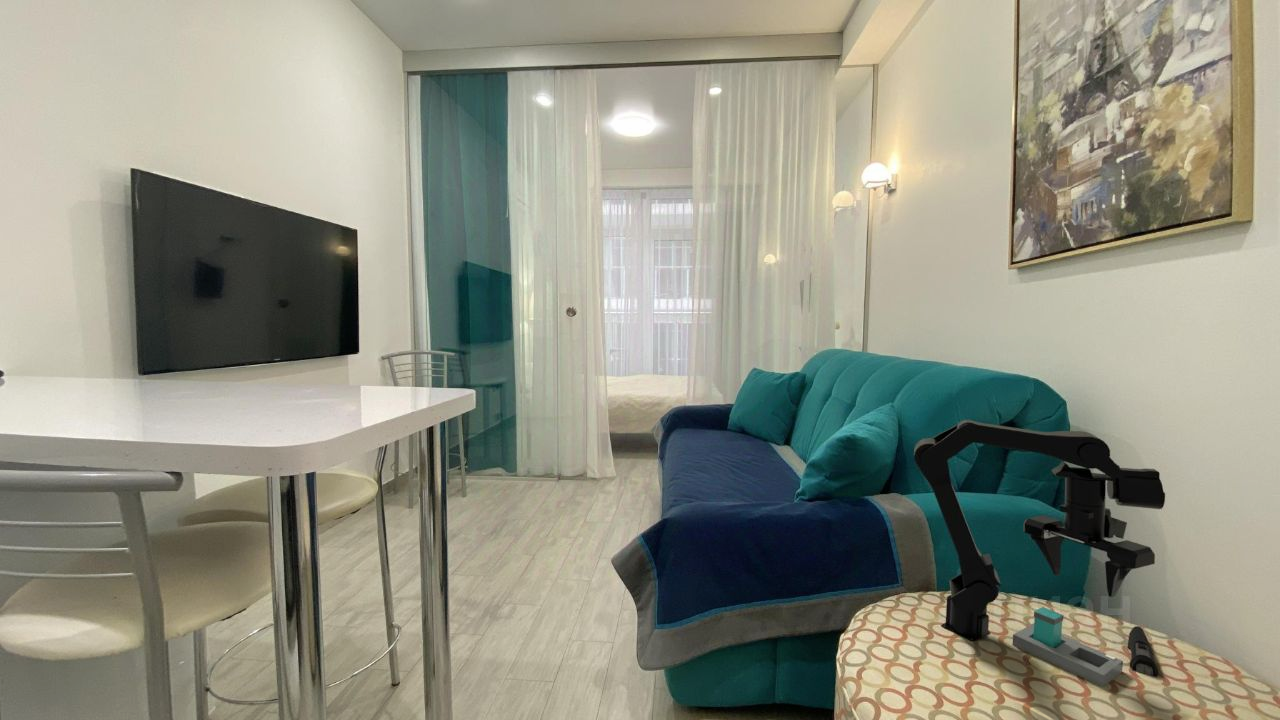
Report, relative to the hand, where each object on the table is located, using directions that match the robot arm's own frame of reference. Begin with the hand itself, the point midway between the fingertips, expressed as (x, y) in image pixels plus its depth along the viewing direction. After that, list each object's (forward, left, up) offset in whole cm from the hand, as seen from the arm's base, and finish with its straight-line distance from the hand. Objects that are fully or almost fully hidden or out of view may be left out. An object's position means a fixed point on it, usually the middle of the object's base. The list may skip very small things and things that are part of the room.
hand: (1083, 585), depth 101 cm
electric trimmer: (+6, +10, -14) cm, 19 cm away
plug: (-4, -3, -13) cm, 14 cm away
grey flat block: (-1, -3, -14) cm, 14 cm away
